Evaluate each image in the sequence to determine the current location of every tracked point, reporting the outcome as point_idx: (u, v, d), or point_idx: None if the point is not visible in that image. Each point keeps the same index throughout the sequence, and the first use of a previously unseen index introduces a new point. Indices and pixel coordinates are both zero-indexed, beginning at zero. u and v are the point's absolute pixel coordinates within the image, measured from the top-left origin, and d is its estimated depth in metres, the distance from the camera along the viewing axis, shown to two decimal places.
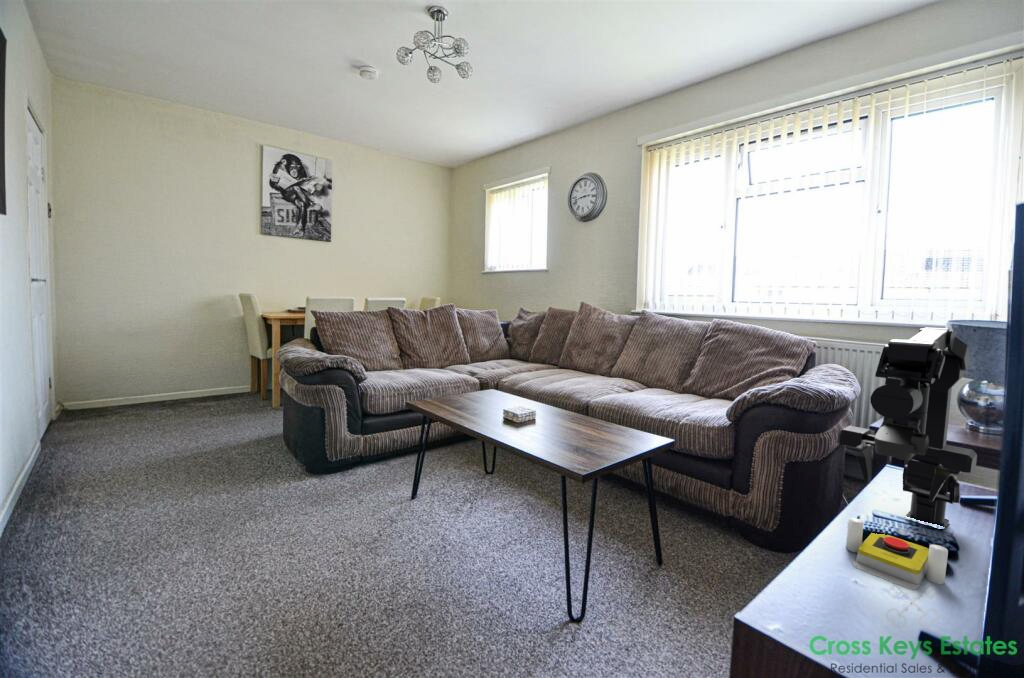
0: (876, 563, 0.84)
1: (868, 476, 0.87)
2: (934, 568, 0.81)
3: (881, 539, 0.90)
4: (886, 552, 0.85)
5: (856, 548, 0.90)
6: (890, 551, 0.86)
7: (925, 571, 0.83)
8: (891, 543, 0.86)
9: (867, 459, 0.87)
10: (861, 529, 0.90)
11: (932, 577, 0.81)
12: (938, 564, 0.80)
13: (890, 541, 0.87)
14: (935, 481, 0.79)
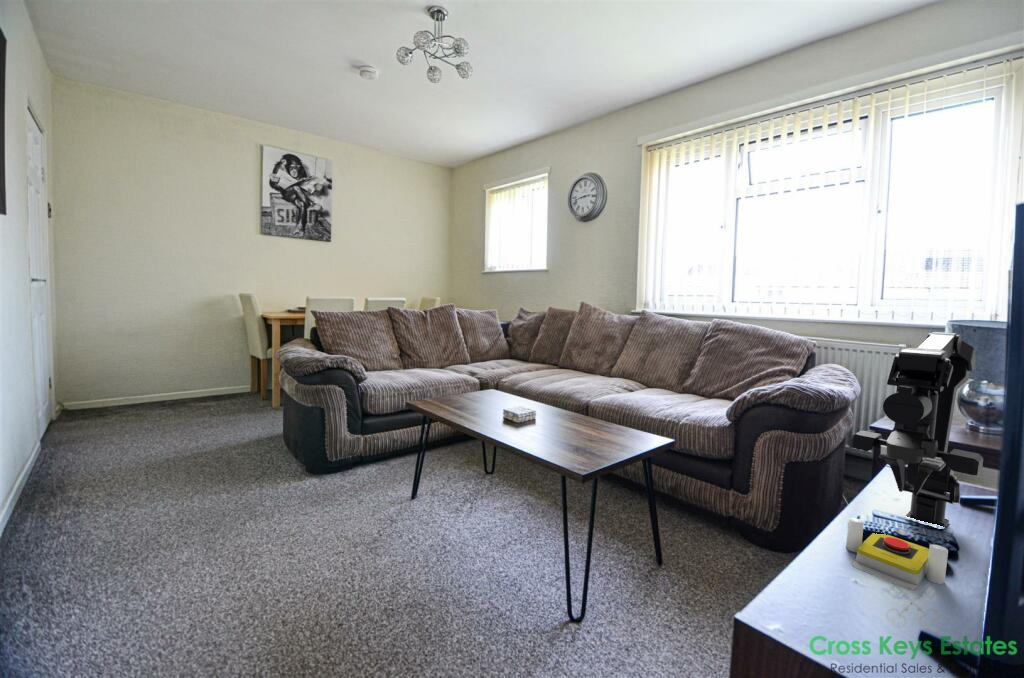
0: (875, 563, 0.84)
1: (902, 484, 0.90)
2: (934, 568, 0.81)
3: (882, 539, 0.90)
4: (886, 552, 0.85)
5: (856, 548, 0.90)
6: (890, 551, 0.86)
7: (925, 572, 0.83)
8: (891, 543, 0.86)
9: (901, 467, 0.90)
10: (861, 529, 0.90)
11: (932, 577, 0.81)
12: (938, 564, 0.80)
13: (890, 541, 0.87)
14: (918, 477, 0.87)
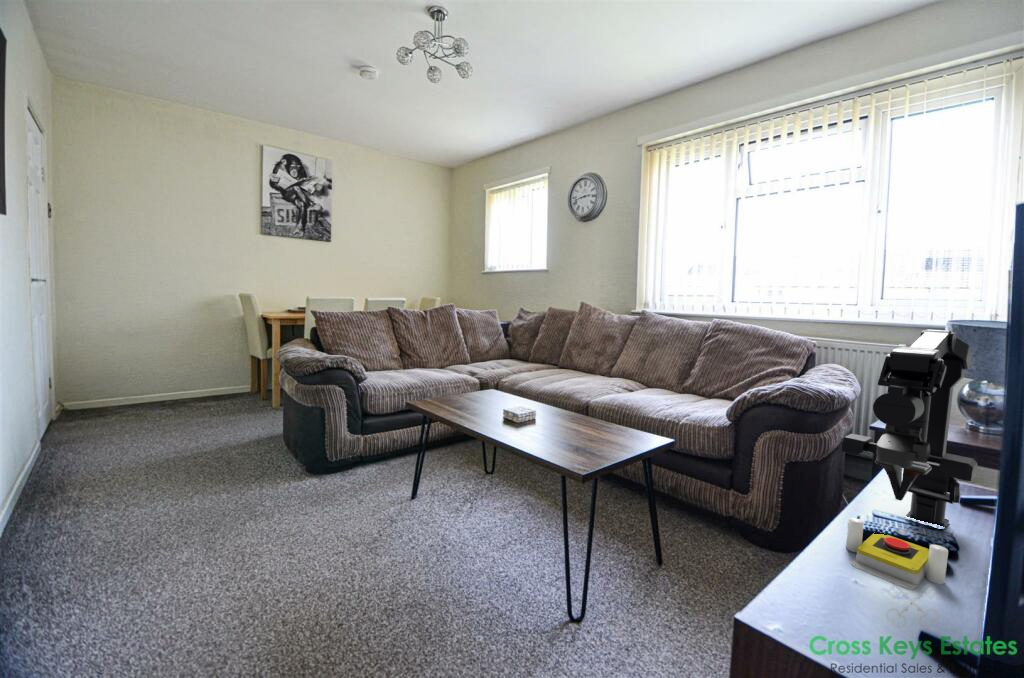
0: (875, 563, 0.84)
1: (899, 491, 0.85)
2: (934, 568, 0.81)
3: (882, 540, 0.90)
4: (886, 552, 0.85)
5: (856, 548, 0.90)
6: (890, 551, 0.86)
7: (925, 572, 0.83)
8: (891, 543, 0.86)
9: (898, 474, 0.85)
10: (861, 529, 0.90)
11: (932, 577, 0.81)
12: (938, 564, 0.80)
13: (890, 541, 0.87)
14: (904, 481, 0.84)
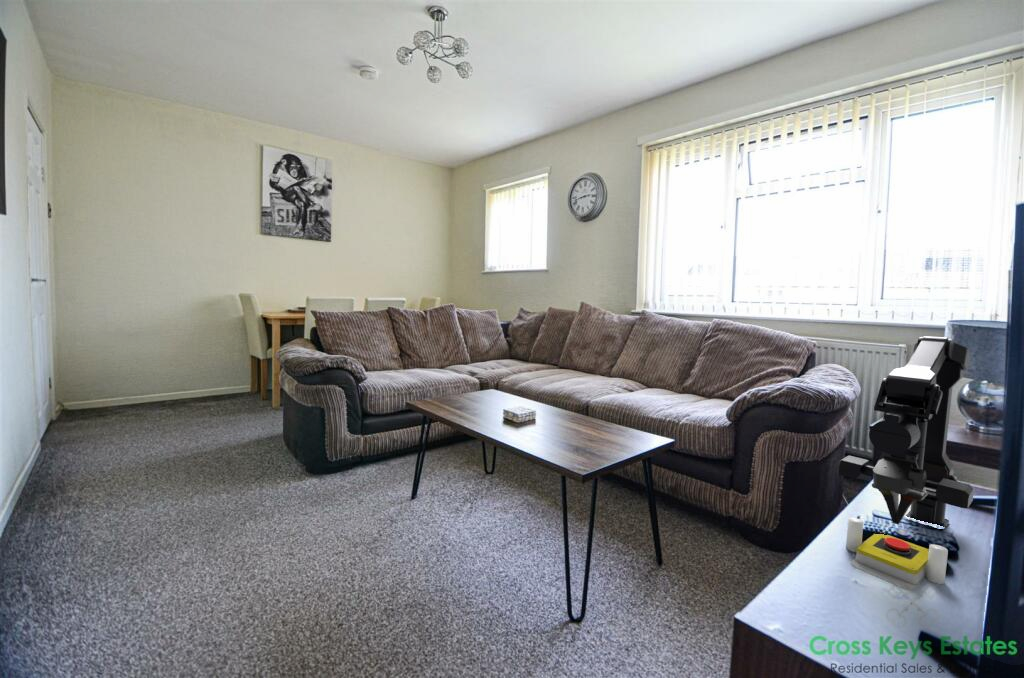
0: (874, 562, 0.84)
1: (896, 515, 0.85)
2: (934, 568, 0.81)
3: (883, 540, 0.90)
4: (886, 552, 0.85)
5: (856, 548, 0.90)
6: (890, 551, 0.86)
7: (926, 572, 0.83)
8: (891, 543, 0.86)
9: (894, 498, 0.85)
10: (861, 529, 0.90)
11: (932, 577, 0.81)
12: (938, 564, 0.80)
13: (891, 542, 0.87)
14: (901, 505, 0.84)
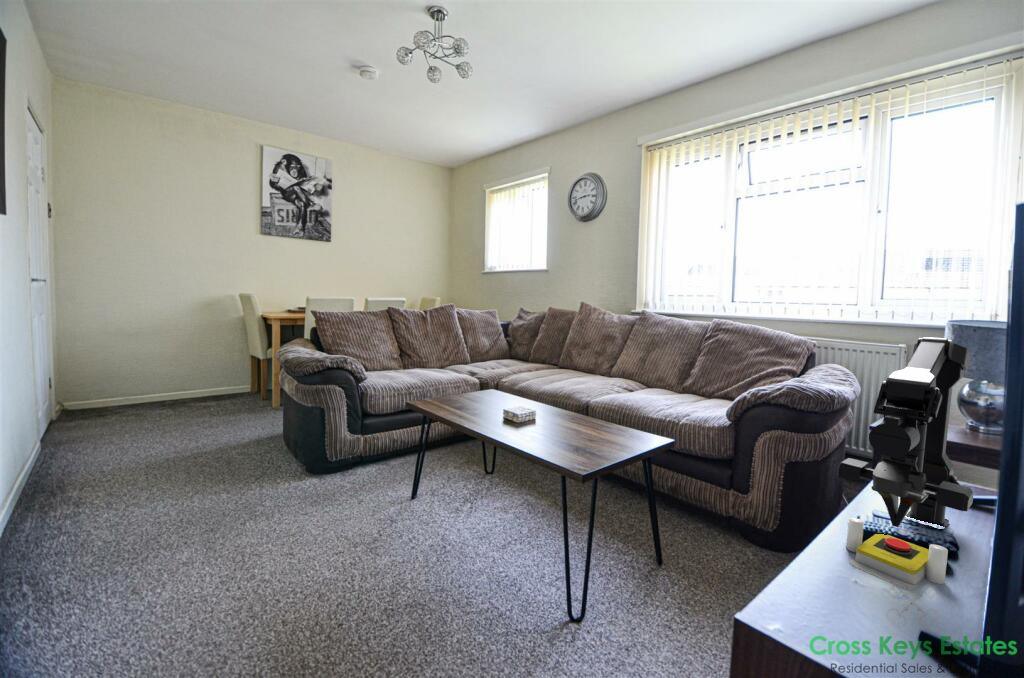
0: (873, 562, 0.84)
1: (895, 518, 0.85)
2: (934, 568, 0.81)
3: (884, 540, 0.90)
4: (886, 552, 0.85)
5: (856, 548, 0.90)
6: (890, 551, 0.86)
7: (926, 573, 0.83)
8: (892, 544, 0.86)
9: (894, 501, 0.85)
10: (861, 529, 0.89)
11: (932, 577, 0.81)
12: (938, 564, 0.80)
13: (891, 542, 0.87)
14: (900, 508, 0.84)
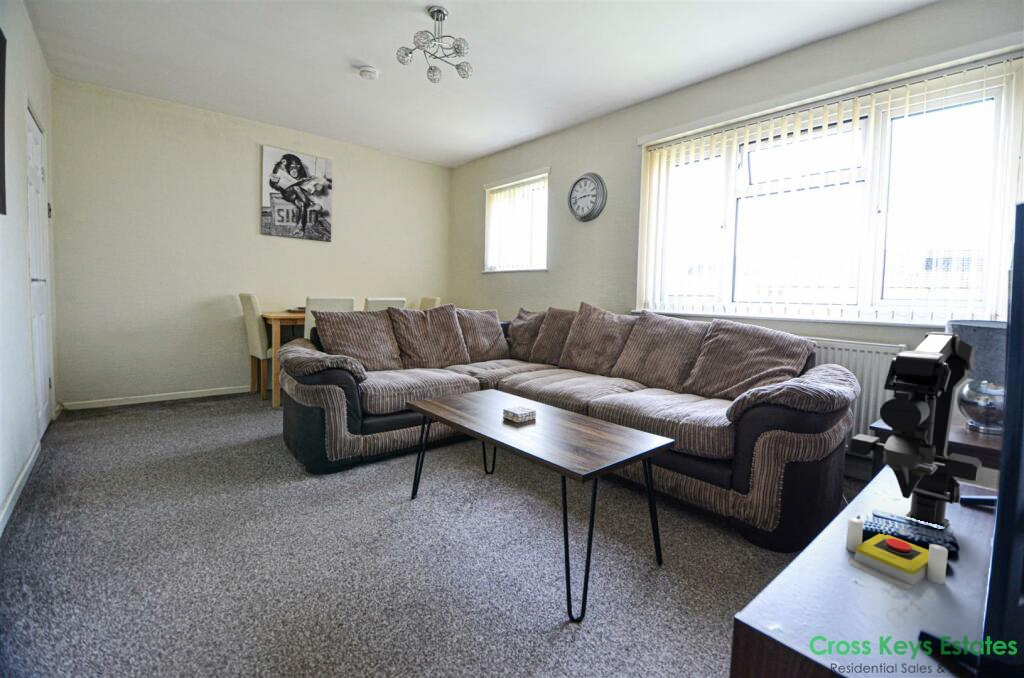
0: (872, 562, 0.85)
1: (906, 490, 0.88)
2: (934, 568, 0.81)
3: None
4: (886, 552, 0.85)
5: None
6: (890, 551, 0.86)
7: (926, 574, 0.82)
8: (892, 544, 0.86)
9: (904, 473, 0.88)
10: (861, 529, 0.90)
11: (932, 577, 0.81)
12: (938, 564, 0.80)
13: (892, 542, 0.87)
14: (911, 480, 0.87)
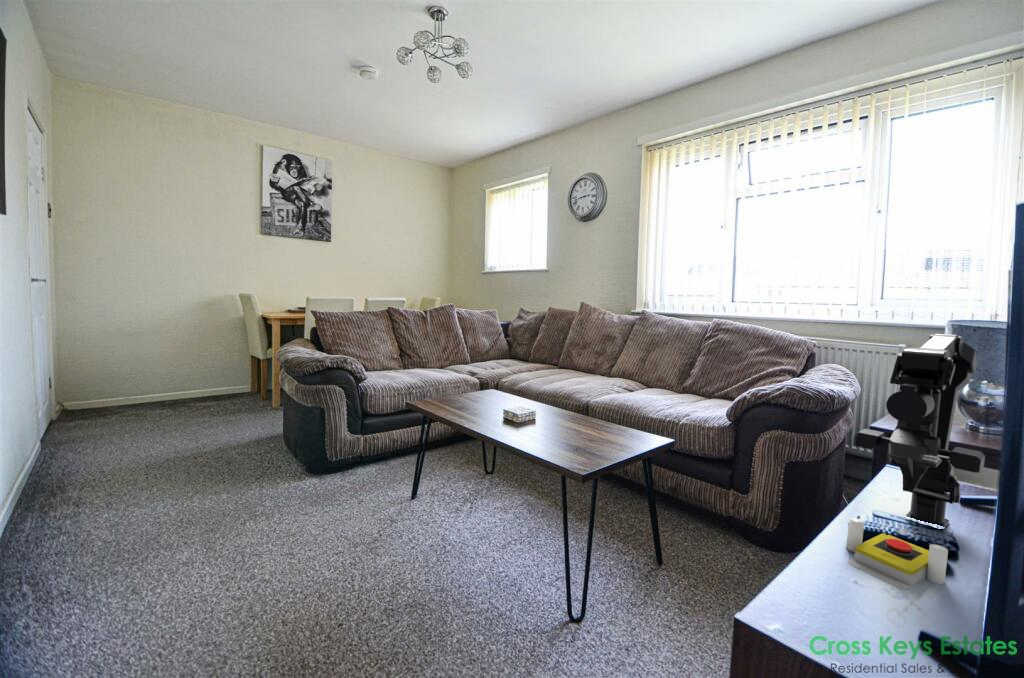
0: (871, 562, 0.85)
1: (910, 483, 0.90)
2: (934, 568, 0.81)
3: None
4: (885, 552, 0.85)
5: None
6: (890, 552, 0.86)
7: None
8: (892, 544, 0.86)
9: (909, 466, 0.90)
10: (862, 529, 0.89)
11: (932, 577, 0.81)
12: (938, 564, 0.80)
13: (892, 542, 0.86)
14: (915, 473, 0.89)
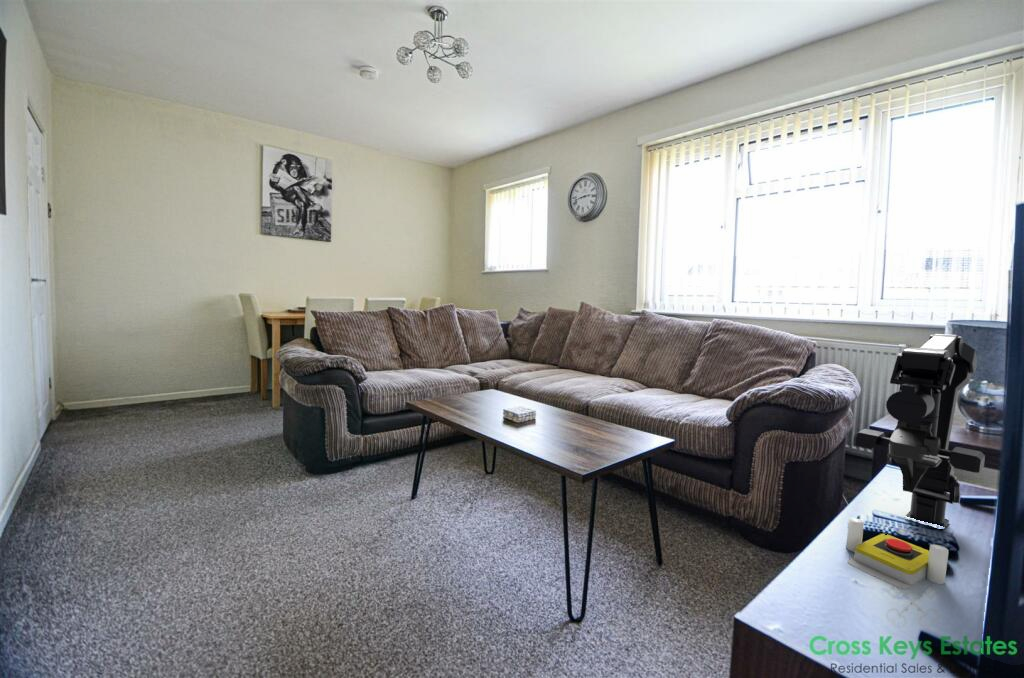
0: (871, 561, 0.85)
1: (910, 483, 0.90)
2: (934, 568, 0.81)
3: None
4: (885, 552, 0.85)
5: None
6: (890, 551, 0.86)
7: (926, 574, 0.82)
8: (892, 544, 0.86)
9: (909, 466, 0.90)
10: (861, 529, 0.89)
11: (932, 577, 0.81)
12: (939, 564, 0.80)
13: (892, 542, 0.86)
14: (915, 473, 0.89)
